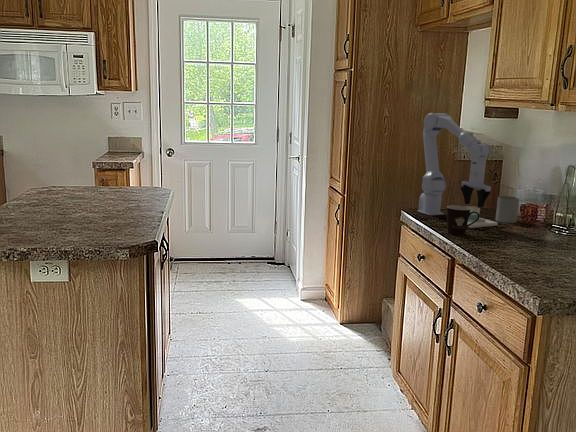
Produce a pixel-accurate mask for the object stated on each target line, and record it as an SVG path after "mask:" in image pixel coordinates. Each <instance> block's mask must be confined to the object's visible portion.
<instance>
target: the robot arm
mask: <svg viewBox="0 0 576 432" xmlns="http://www.w3.org/2000/svg"><path fill="white" fill-rule="evenodd" d="M444 129H446V130H447V131H449V133H451V134H453V135H454V136H456V137H457V138H458V143H459V144H460V145H461V146H463V147H464V148H465V150H467V151H468V155H469V156H470V169H469V170H470V171H469V177H468V178H469V179H468V180H462V181H461V187H460V190H461V192H462V195H463V196H462V197H463V203H464V205H470V204H471V199H472V194H473V191H474V189H476V194H477V207H478V208H480V209H482V208H484V205H485V203H486V201H487V199H488V197H489V196H490V194H491V190H492V189H491V188H492V187H491V186H490V185H487V184H485V183H484V182H485V173H486V163H487V157H488V156H489V155H490V153H491V147H490V146H489V145H488V143H486V142H482V141H481V140H480V139H478V138H477V137H476V136H475V135H474V133H473V132H472V131H464V129H462V128H461V127H460V125H459V124H458V123H456V122H455V120H453V118H452V117H451V115H449V114H448V113H446V112H441V113H440V112H439V113H438V112H437V113H436V112H435V113H434V112H429V113H428V114H426V115H425V117H424V118H423V129H422V130H423V131H422V138H423V139H422V140H423V149H424V159H425V161H424V162H425V171H426V173H425V174H424V175H423V176H422V184H421V189H422V193H421V194H420V196H419V200H418V209H417V210H416V212H418V213H421V214H423V215H428V216H441V215H443V216H444V215H445V213H444V212H441V207H442V206H441V203H442V195H443V192H444V191H445V190H446V188H447V183H446V181H445V179H444V175H443V173H441V171H440V164H439V155H438V154H439V153H438V144H437V142H438V141H437V136H438V134H439V133H440V132H441V131H442V130H444Z"/></svg>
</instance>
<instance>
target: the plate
mask: <svg viewBox="0 0 576 432" xmlns="http://www.w3.org/2000/svg"><path fill="white" fill-rule="evenodd" d="M474 221H475V220H470V219H468V223H467V225H469V224H470V223H472V222H474ZM494 226H496V227H497V226H498V221H493V220H491V219H485V218H482V217H479V220H477V221H476V222H475V223H474V224H472V225H470V226H468V227H467V228H470V229H472V228H483V227H484V228H485V227H494Z"/></svg>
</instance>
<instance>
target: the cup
mask: <svg viewBox="0 0 576 432" xmlns="http://www.w3.org/2000/svg"><path fill="white" fill-rule="evenodd" d="M519 203H520V198H519V197H516V196H508V195H506V196H505V195H500V196H497V203H496V204H497V205H496V210H495V211H496V212H495V222H500V223H504V224H505V223H506V224H507V223H508V224H514V223H515V224H516V223H517V221H518V213H519Z"/></svg>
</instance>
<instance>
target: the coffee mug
mask: <svg viewBox="0 0 576 432" xmlns="http://www.w3.org/2000/svg"><path fill="white" fill-rule="evenodd" d="M472 213H476V214H477V215H478V218H477V219H476V220H475V221H474V222H472V223H470V224H469V225H467V223H468V218H469V216H470V215H471V214H472ZM479 218H480V215H479V213H477V212H475V211H473V212H470V208H469V207H467V206H463V205H447V206H446V224H447V234H448V235H451V236H456V237H457V236H460V237H461V236H465V235H466V232H467V228H469V227H468V226H470V225H472V224H474V223H475V222H476V221H477V220H478V219H479Z"/></svg>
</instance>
